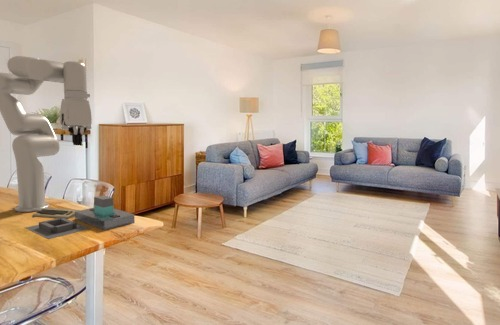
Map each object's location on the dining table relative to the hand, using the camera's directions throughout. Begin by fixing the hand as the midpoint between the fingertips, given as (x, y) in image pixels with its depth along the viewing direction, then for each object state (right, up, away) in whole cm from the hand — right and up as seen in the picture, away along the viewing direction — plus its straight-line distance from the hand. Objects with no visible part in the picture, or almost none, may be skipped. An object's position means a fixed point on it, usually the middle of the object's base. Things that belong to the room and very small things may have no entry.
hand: (77, 144), depth 128 cm
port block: (+11, -30, -1) cm, 32 cm away
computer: (-11, -29, +5) cm, 31 cm away
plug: (+11, -30, -1) cm, 32 cm away
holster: (-1, -31, -11) cm, 32 cm away
